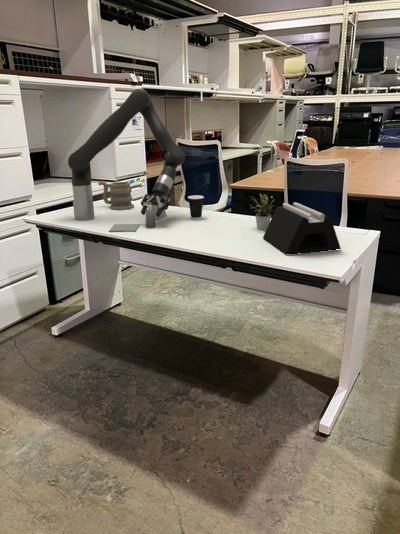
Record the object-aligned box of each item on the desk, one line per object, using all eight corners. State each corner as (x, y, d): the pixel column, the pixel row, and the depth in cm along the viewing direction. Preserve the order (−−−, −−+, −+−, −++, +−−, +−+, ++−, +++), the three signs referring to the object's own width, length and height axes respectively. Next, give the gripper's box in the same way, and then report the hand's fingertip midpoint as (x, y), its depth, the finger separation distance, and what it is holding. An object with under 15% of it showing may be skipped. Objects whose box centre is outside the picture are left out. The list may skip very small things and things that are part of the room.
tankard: (137, 206, 241) (135, 180, 235) (126, 211, 230) (123, 183, 224) (107, 204, 247) (105, 178, 242) (95, 208, 236) (92, 182, 231)
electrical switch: (156, 220, 208) (154, 201, 206) (148, 220, 211) (146, 201, 208) (167, 216, 216) (164, 198, 213) (158, 216, 219) (156, 198, 216)
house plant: (241, 225, 196) (242, 190, 191) (269, 223, 199) (270, 189, 193) (251, 233, 183) (252, 196, 178) (280, 230, 186) (282, 194, 180)
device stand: (285, 256, 154) (288, 216, 149) (263, 239, 174) (264, 204, 169) (340, 251, 159) (344, 212, 153) (311, 235, 179) (314, 200, 174)
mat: (109, 232, 188) (109, 230, 188) (114, 225, 200) (114, 224, 199) (135, 231, 188) (135, 230, 188) (139, 225, 199) (139, 223, 199)
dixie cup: (203, 216, 214) (203, 195, 211) (204, 220, 207) (204, 198, 203) (187, 217, 214) (187, 195, 210) (188, 220, 206) (188, 198, 203)
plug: (144, 227, 195) (143, 205, 191) (150, 225, 198) (148, 203, 195) (151, 228, 193) (150, 206, 189) (157, 226, 196) (156, 204, 193)
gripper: (147, 180, 199) (133, 209, 194) (171, 182, 192) (158, 212, 187) (154, 190, 205) (141, 217, 200) (178, 192, 198) (165, 221, 193)
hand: (149, 215), depth 193 cm, fingers open, 8 cm apart
